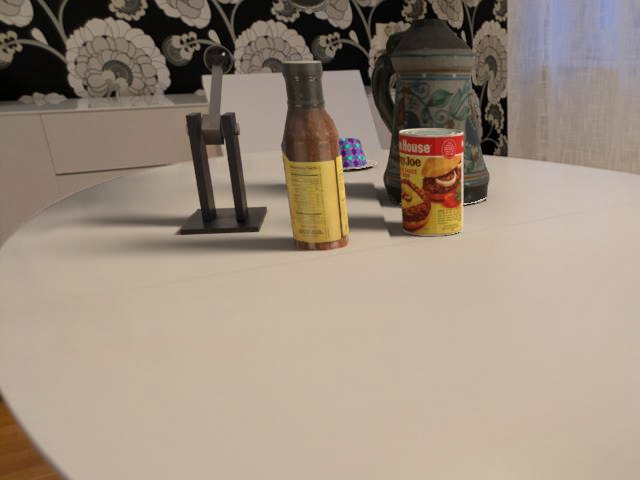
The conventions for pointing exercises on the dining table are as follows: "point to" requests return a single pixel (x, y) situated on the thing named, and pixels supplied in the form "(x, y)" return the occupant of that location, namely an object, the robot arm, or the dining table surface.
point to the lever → (215, 93)
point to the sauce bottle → (312, 162)
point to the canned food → (431, 181)
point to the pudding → (352, 153)
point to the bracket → (209, 215)
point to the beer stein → (429, 97)
